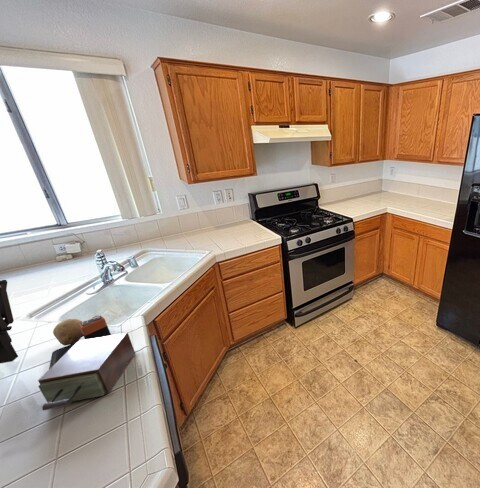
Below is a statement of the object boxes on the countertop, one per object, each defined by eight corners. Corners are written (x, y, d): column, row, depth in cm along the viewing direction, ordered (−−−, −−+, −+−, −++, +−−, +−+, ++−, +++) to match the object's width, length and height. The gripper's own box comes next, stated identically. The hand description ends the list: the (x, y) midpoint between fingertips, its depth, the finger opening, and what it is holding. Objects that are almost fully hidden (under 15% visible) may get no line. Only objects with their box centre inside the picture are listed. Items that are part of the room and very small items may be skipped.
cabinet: (109, 393, 76) (98, 369, 73) (51, 405, 74) (37, 380, 71) (135, 353, 92) (127, 332, 89) (88, 362, 89) (78, 340, 86)
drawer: (90, 413, 70) (80, 393, 67) (31, 426, 67) (19, 405, 65) (129, 356, 89) (123, 339, 87) (85, 364, 87) (77, 347, 85)
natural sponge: (90, 331, 106) (81, 310, 103) (92, 341, 100) (83, 319, 97) (60, 342, 100) (49, 321, 97) (60, 354, 94) (49, 331, 91)
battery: (112, 338, 101) (103, 316, 98) (90, 348, 96) (80, 325, 93) (108, 334, 103) (99, 312, 100) (86, 344, 98) (76, 322, 95)
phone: (81, 340, 99) (79, 362, 88) (82, 343, 99) (81, 364, 88) (52, 351, 94) (47, 375, 83) (53, 353, 94) (48, 378, 83)
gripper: (-66, 272, 44) (0, 380, 52) (6, 247, 56) (50, 337, 64) (-123, 279, 43) (-46, 388, 51) (-37, 252, 55) (14, 343, 63)
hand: (8, 360), depth 57 cm, fingers closed
